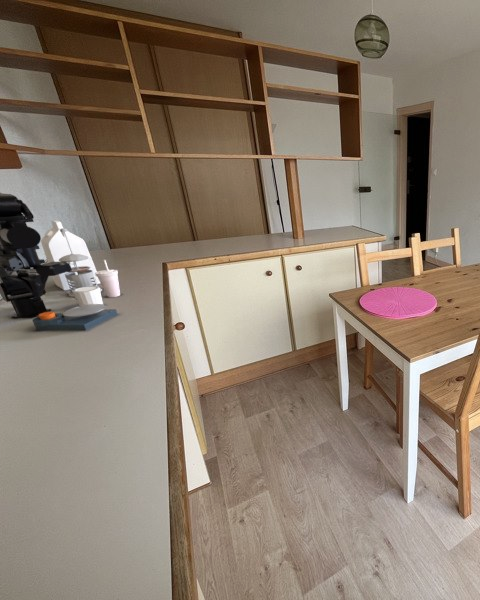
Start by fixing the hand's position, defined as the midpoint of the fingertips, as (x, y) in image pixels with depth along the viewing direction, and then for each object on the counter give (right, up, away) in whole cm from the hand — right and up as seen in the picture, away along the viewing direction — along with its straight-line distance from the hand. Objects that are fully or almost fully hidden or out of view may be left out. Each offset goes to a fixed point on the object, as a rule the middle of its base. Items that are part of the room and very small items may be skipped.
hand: (39, 296), depth 91 cm
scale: (+4, -8, +8) cm, 12 cm away
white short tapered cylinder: (-3, -4, +18) cm, 19 cm away
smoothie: (-5, +1, +30) cm, 30 cm away
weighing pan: (+6, -4, +7) cm, 11 cm away
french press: (-19, +2, +32) cm, 38 cm away
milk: (-31, +6, +41) cm, 52 cm away
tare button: (0, -6, +2) cm, 7 cm away
